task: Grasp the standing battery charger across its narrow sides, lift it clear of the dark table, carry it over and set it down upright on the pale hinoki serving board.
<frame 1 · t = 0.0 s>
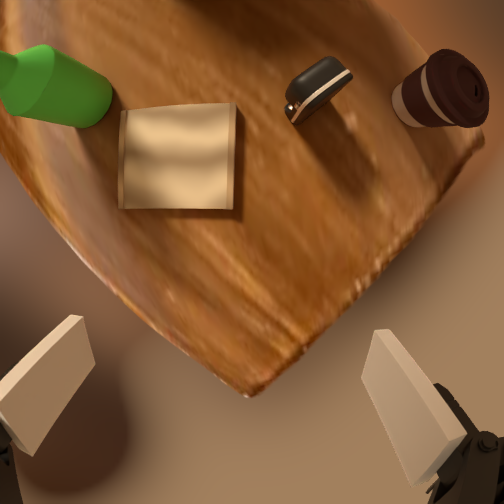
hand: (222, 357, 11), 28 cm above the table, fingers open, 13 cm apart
board: (176, 156, 36), on the table
coffee cup: (409, 105, 33), on the table
battery charger: (303, 103, 34), on the table
bottle: (92, 102, 33), on the table
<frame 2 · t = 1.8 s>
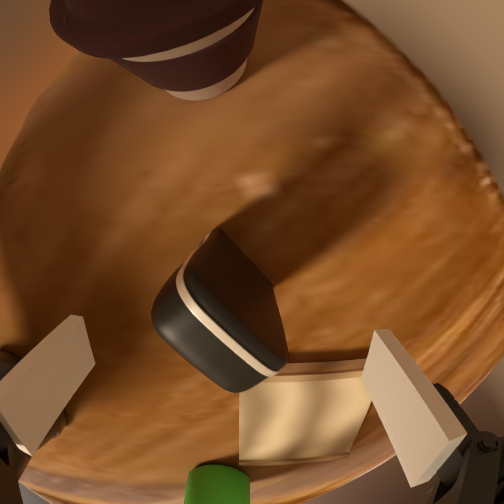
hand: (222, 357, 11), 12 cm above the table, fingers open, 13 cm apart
board: (302, 416, 27), on the table
coffee cup: (201, 63, 18), on the table
battery charger: (229, 270, 23), on the table
bottle: (219, 474, 31), on the table
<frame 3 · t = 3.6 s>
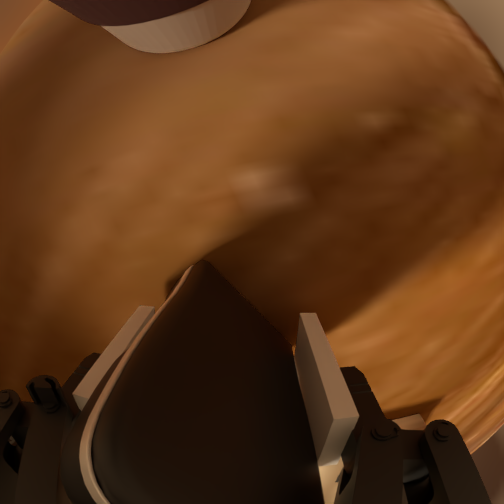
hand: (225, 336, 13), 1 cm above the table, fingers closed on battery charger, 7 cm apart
board: (319, 477, 18), on the table
coffee cup: (182, 4, 10), on the table
battery charger: (224, 323, 14), on the table, touching gripper
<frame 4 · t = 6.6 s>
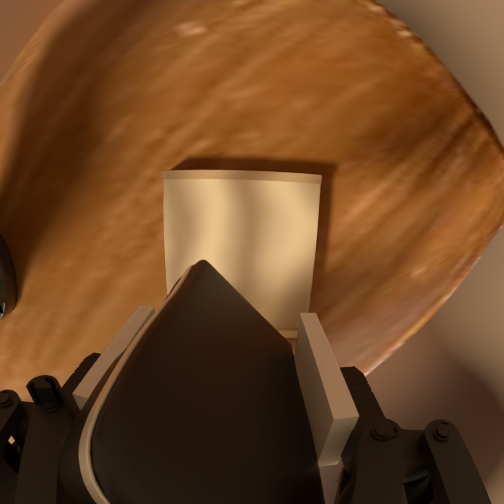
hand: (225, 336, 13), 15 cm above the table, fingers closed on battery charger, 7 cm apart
board: (239, 255, 27), on the table
battery charger: (224, 322, 14), point 14 cm above the table, touching gripper
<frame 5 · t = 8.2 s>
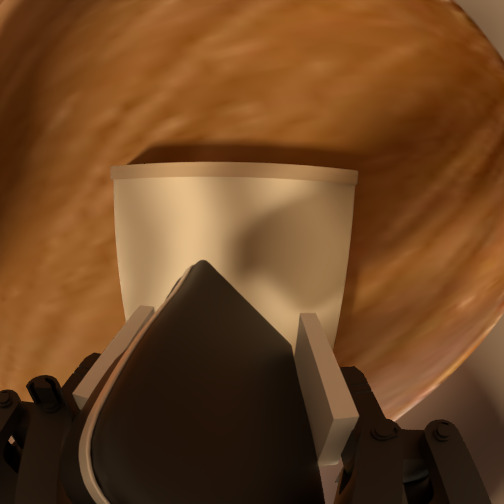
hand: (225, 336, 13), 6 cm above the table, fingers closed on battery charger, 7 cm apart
board: (230, 291, 18), on the table
battery charger: (224, 322, 14), point 4 cm above the table, touching gripper
when the fingers open (3 cm above the table, at t = 9.4 s): battery charger stays where it is, resting on board.
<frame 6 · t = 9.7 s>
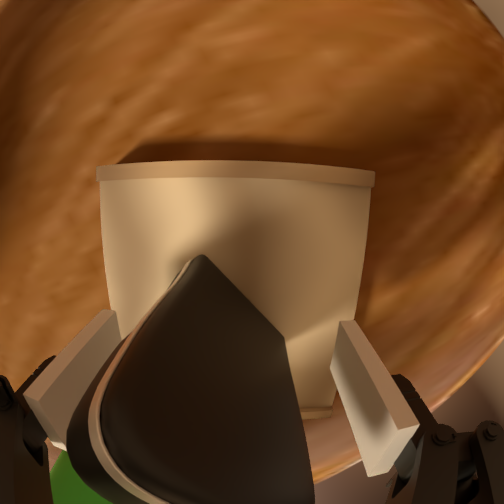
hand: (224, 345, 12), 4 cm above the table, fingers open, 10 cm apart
board: (230, 304, 16), on the table
battery charger: (221, 314, 15), point 1 cm above the table, touching board
bottle: (127, 432, 20), on the table
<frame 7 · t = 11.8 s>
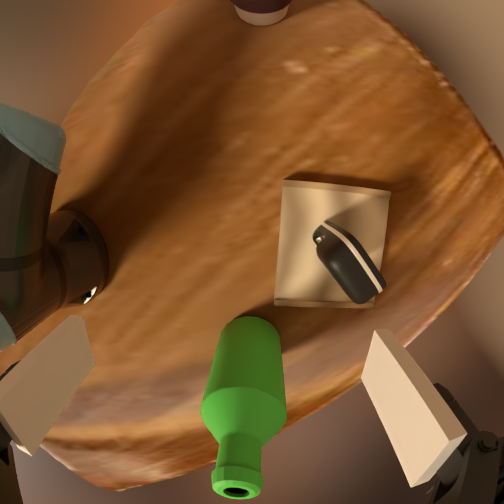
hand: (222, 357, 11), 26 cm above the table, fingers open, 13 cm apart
board: (331, 245, 36), on the table
coffee cup: (261, 9, 28), on the table
battery charger: (330, 247, 35), point 1 cm above the table, touching board
bottle: (250, 338, 40), on the table
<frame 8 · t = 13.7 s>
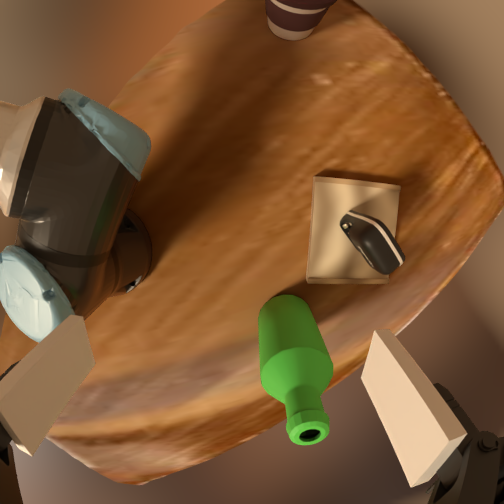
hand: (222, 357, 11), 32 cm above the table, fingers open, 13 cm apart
board: (353, 231, 42), on the table
coffee cup: (290, 25, 33), on the table
battery charger: (353, 232, 41), point 1 cm above the table, touching board
bottle: (284, 315, 46), on the table
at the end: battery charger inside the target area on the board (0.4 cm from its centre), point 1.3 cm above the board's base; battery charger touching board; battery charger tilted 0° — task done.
